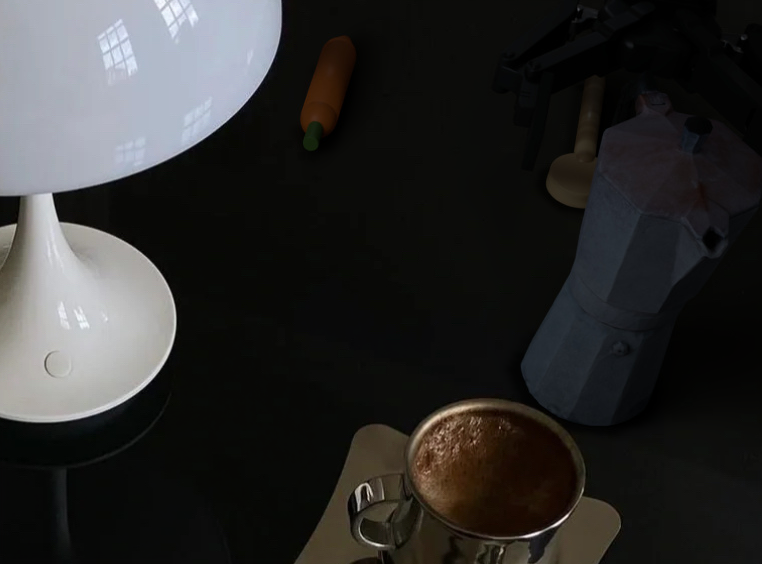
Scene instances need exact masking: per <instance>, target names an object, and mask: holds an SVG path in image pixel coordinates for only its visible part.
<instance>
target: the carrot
mask: <svg viewBox="0 0 762 564" xmlns="http://www.w3.org/2000/svg"><path fill="white" fill-rule="evenodd" d="M356 61H357V51H356V47H355V45H354V44H353V42H352V40H351V38H350V37H349V36H348V35H344V34H343V35H340V36H336V37H332V38H331V39H329V40H327V42H326V43H325V44H324V45H323V47H322V49H321V51H320V54H319V57H318V61H317V63H316V67H315V69H314V73H313V75H312V77H311V81H310V84H309V87H308V90H307V94H306V97H305V100H304V103H303V106H302V109H301V112H300V116H299V121H300V126H301V129H302V130H303V132H304V133H305V134H304V137H303V140H302V145H303V148H304V149H305V150H307V151H309V152H314V151H315V150H317V149H318V148H319V146H320V143H321V139H323V138H326V137H328V136H329V135H330V134H332V133H333V131H334V130H335V128H336V127H337V123H338V120H339V118H340V114H341V111H342V108H343V104H344V101H345V97H346V94H347V91H348V88H349V84H350V82H351V78H352V74H353V71H354V68H355V65H356Z"/></svg>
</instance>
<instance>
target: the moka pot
mask: <svg viewBox="0 0 762 564" xmlns="http://www.w3.org/2000/svg"><path fill="white" fill-rule="evenodd" d="M618 99H619V100H618V102H617V106H616V108H615V112H614V115H613V118H612V122H611V126H610V127H608V128H606V129H605V130H604V131H603V134H602V137H601V141H600V144H599V145H600V146H599V150H598V154H597V162H596V167H595V171H594V175H593V179H592V184H591V188H590V192H589V196H588V200H587V204H586V208H584V213H583V217H582V222H581V226H580V231H579V234H578V240H577V245H576V251H575V252H576V253H575V258H574V261H573V264H572V267H571V270H570V273H569V275H568V276H567V278H566V280H565V281H564V283H563V285H562V287H561V289H560V291H559V293H558V294H557V296H556V297H555V299H554V301H553V303H552V305H551V306H550V308H549V309H548V311H547V313H546V315H545V317H544V318H543V320H542V321H541V324H540V325H539V327H538V329H537V330H536V332H535V334H534V336H533V337H532V339H531V342H530V344H529V345H528V347H527V350H526V352H525V354H524V356H523V358H522V360H521V362H520V371H521V374H522V378H523V380H524V382H525V385H526V387H527V389H528V393H529V394H531V396H532V397H533V399H535V401H537V402H538V404H539V405H540V406H542V407H543V408H544V409H545V410H547V411H549V412H550V413H551V414H553V415H555V416H556V417H557V418H559V419H562V420H565V421H567V422H571V423H574V424H578V425H581V426H582V425H584V426H590V427H608V426H614V425H615V426H616V425H619V424H622V423H625V422H628V421H629V420H631V419H632V418H634V417H636V416H639V414H641V413H642V412H644V411H646V410H645V409H646V408H647V407H648V404H649V402H650V399H651V397H652V394H653V392H654V390H655V387H656V384H657V381H658V378H659V375H660V371H661V368H662V366H663V362H664V359H665V356H666V353H667V351H668V350H667V349H668V347H669V344H670V341H671V337H672V333H673V331H674V327H675V324H676V320H677V318H678V316H679V314H680V313H681V311H682V310H683V308H684V306H685V305H686V303H687V302H688V301H689V300H691V299H693V298H694V297H696V296H698V294H699V293H700V291H701V290H702V289H703V287H705V286H704V285H706V283H707V281H708V280H709V279H710V277H711V276H712V275H713V273H714V271H715V270H716V269H717V267H718V266H719V265H720V263H721V262H722V260H723V259H724V257H725V256H726V255H727V253H728V251H729V250H730V249H731V247H732V245H734V243H735V241H736V240H737V239H738V237H739V236H740V235H741V233H742V232H743V230H744V229H745V228H746V226H748V224H749V222H750V221H751V220H752V218H753V217H754V215H755V214H756V212H758V210H759V208H760V205H761V199H762V157H761V156H759V155H758V154H757V153H756V152H755V151H754V150H752V149H751V148H750V147H749V146H748V145H747V144H746V143H745V142H743V141H742V138H740V137H739V136H738V135H737V134H736V133H735V132H733V131H732V130H731V129H730V128H729V127H728V126H726V124H724V123H723V122H722V121H720V120H717V119H713V118H708V117H707V118H706V117H704V116H702V115H693V114H687V113H681V112H678V111H676V110H674V107H673V103H672V101H671V99H670V97H669V96H668V94H666V93H663V92H660V91H659V89H658V85H657V82H656V78H655V76H654V75H653V73H652V72H651V71H646V70H644V72H643V73H640V75H639V76H635V77H633V78H632V79H631V80H630V81H628V82H626V83H625V84H624V85H623V86H622V87H621V89H620V98H618ZM633 102H634V106H635V107H634V110H635V116H634V117H632V118H631V111H630V110H631V108H632V106H633Z"/></svg>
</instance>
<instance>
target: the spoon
mask: <svg viewBox="0 0 762 564" xmlns="http://www.w3.org/2000/svg"><path fill="white" fill-rule="evenodd" d="M606 80H607V79H606V76H604V77H601V78H600V77H598V76H597V75H593V76H591V77H589V78H587V79H585V80H584V84H583V90H582V97H581V103H580V109H579V110H580V111H579V116H578V123H577V130H576V135H575V141H574V150H573V152H571V153H570V152H569V153H565V154H562V155H560V156H558V157H557V158H555V159H554V160H553V161H552V163H551V164H550V167H549V171H548V172H547V176H546V180H545V186H546V190H547V192H548V194H549V195H550V196H551V197H552V198H553V199H554V200H556V201H557V202H559V203H561V204H563V205H565V206H568V207H571V208H575V209H585V208H586V204H587V200H588V196H589V192H590V188H591V184H592V179H593V175H594V171H595V167H596V162H597V158H598V156H596V155H597V148H598V141H599V134H600V127H601V120H602V112H603V105H604V97H605V92H606V91H605V90H606Z"/></svg>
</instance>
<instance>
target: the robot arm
mask: <svg viewBox="0 0 762 564" xmlns="http://www.w3.org/2000/svg"><path fill="white" fill-rule="evenodd" d="M580 1H581V0H559V3H558V6H557V7H555V8H554V9H553V10H551V12H549V13H548V14H547V15H545V16H544V17H543V18H542V19H541V20H539V21H538V22H536V23H535V24H534V25H533V26H531V27H530V28H529V29H527V30H526V31H525V32H524V33H522V34H521V35H520V36H518V37H517V38H516V39H515V40H513V41H512V42H511V43H509V45H507V46H505V48H503V49H502V50H501V51H500V53H499V56H498V60H497V64H496V67H495V72H494V76H493V79H492V83H491V90H492V91H493V92H494V93H497V94H501V95H502V94H508V93H509V92H512V93H513V94H515V96H516V99H515V101H514V102H515V103H514V106H513V110H514V112H513V117H512V122H513V124H514V126H515V127H521V128H527V129H528V130H527V135H526V140H525V144H524V150H523V156H522V160H521V166H520V170H522V171H528V172H533V171H534V168H535V164H536V161H537V158H538V155H539V151H540V148H541V144H542V141H543V138H544V135H545V131H546V124H547V120H548V119H547V118H548V113H549V107H550V101H551V96H552V95H555V94H556V93H559V92H560V91H563V90H565V89H567V88H569V87H572V86H573V85H575V84H578V83H580V82H582V81H585V80H586V79H587V78H589V77H591V76H593V75H597V76H598V77H600V78H601V77H606V76H608V75H610V74H612V73H614V72H617V71H619V70H621V69H625V70H624V71H625V72H628V73H633V74H642V73H643V72H644V70H646V71H651V72H652V73H653V75H654V77H657V78H661V79H666V80H673V81H674V82H675V83H677V84H678V85H679V86H680V87H681V88H682V90H684V91H685V92H686V93H687V94H689V95H692V94H696V93H697V94H698V95H699V96H701V97H702V98H703V99H704V101H705V102H707V104H709V105H710V106H711V107H712V108H713V109H714V110H715V111H716V112H718V114H720V115H721V116H722V117H723V118H724V119H725V120H726V121H727V122H728V123H730V125H732V126H733V127H734V128H735V129H736V130H737V131H738V132H739V133H740V134H741V135H743V137H742V138H741V140H742V141H743V142H745V143H746V144H747V145H748V146H749V147H750V148H751V149H752V150H754V151H755V152H756V153H757V154H758V155H759V156H761V157H762V25H761V24H759V23H755V22H753V23H749V24H747V25H746V27H745V29H744V32H743V33H735V32H725V31H723V28H722V26H721V25H720V23H719V22H718V20H717V13H718V12H717V11H718V3H719V2H718V1H719V0H604V2H603V5H602V6H601V7H600V8H599V9H596V8H592V7H588V6H584V5H583V4H582V3H581V4H580ZM583 31H591V32H590V33H588V34H586V35H584V36H581V37H579V38H577V39H576V36H577V35H580V34H581V33H582V32H583ZM567 42H568V43H567Z"/></svg>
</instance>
